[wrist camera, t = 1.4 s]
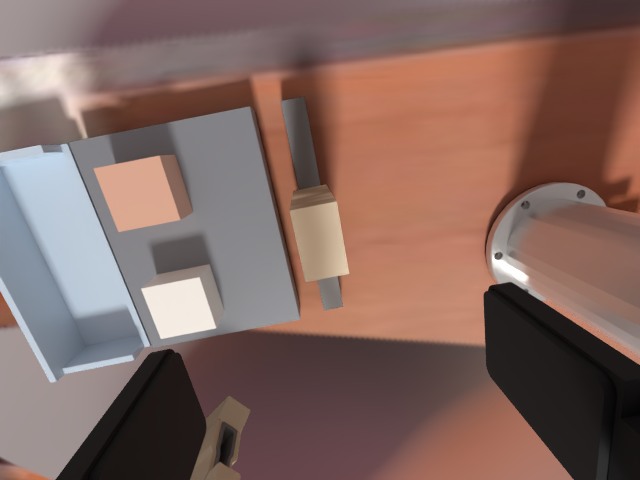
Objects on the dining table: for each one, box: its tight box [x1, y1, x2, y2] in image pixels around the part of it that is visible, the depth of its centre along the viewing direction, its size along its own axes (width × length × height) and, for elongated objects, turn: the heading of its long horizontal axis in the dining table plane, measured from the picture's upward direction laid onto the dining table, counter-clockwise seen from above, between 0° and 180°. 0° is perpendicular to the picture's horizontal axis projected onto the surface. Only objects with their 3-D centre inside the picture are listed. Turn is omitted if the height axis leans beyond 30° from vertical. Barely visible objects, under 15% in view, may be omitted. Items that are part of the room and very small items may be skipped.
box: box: [0, 144, 151, 383], centre depth 28 cm, size 8×20×5 cm, turn 11°
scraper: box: [281, 97, 349, 310], centre depth 26 cm, size 3×20×11 cm, turn 11°
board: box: [69, 106, 300, 348], centre depth 29 cm, size 15×20×2 cm
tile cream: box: [141, 264, 224, 339], centre depth 28 cm, size 5×5×3 cm
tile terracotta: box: [94, 155, 193, 232], centre depth 25 cm, size 5×5×3 cm
